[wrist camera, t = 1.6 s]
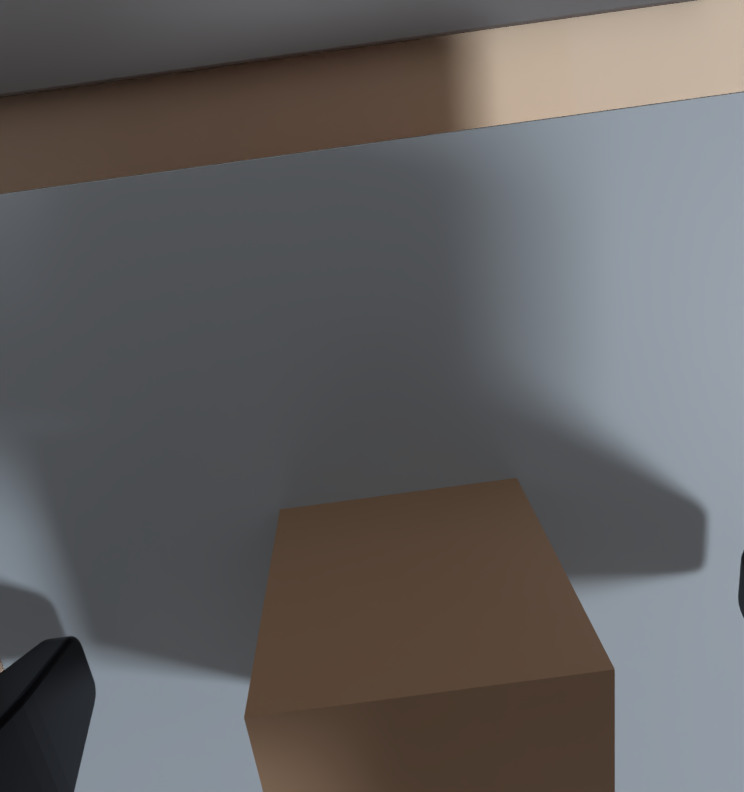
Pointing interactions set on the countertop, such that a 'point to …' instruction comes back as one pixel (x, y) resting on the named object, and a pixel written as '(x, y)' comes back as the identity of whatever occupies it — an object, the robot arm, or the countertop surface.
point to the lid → (390, 459)
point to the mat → (232, 32)
